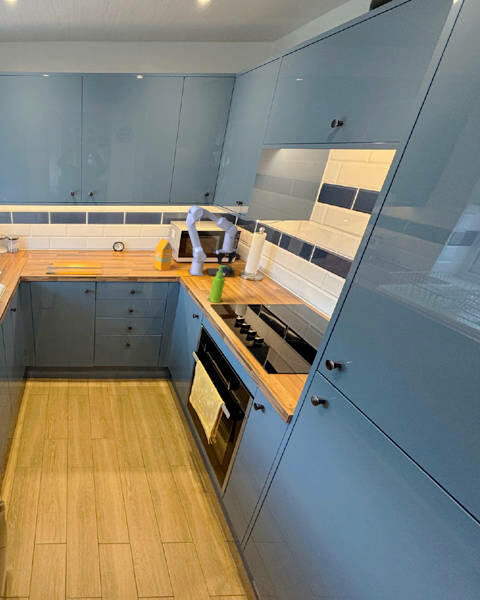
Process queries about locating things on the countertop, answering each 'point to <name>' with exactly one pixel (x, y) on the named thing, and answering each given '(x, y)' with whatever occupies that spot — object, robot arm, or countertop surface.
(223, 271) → the trainer
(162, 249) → the orange juice
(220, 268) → the soap dispenser
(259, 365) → the countertop surface
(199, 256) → the robot arm
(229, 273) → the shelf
